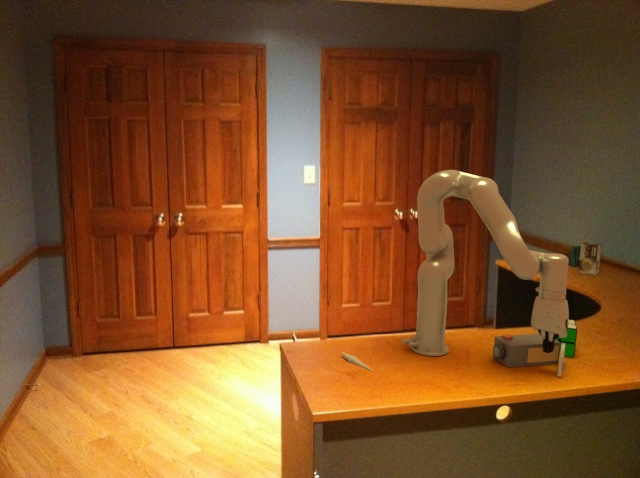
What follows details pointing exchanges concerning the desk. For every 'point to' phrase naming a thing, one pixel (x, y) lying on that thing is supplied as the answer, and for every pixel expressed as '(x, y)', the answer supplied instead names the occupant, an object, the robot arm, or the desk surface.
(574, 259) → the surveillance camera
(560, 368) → the side door
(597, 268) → the coffee box
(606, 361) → the desk surface
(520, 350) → the camera box
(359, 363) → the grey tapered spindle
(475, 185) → the robot arm
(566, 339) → the puzzle cube
